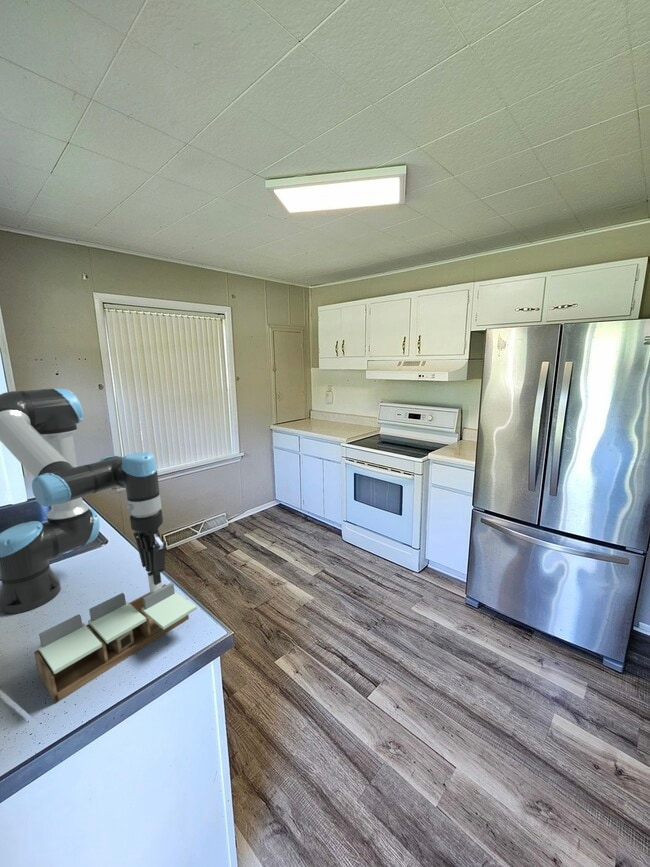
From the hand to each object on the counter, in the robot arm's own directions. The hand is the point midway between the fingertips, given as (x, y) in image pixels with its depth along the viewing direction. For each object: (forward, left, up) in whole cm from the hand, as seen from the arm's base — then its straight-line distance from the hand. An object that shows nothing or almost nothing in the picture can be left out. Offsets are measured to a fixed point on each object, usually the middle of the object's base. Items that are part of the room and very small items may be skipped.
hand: (156, 592), depth 96 cm
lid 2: (0, -10, -3) cm, 11 cm away
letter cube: (0, -10, -9) cm, 14 cm away
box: (0, -10, -10) cm, 14 cm away
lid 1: (0, -20, -3) cm, 21 cm away
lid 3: (+6, 0, -3) cm, 7 cm away
